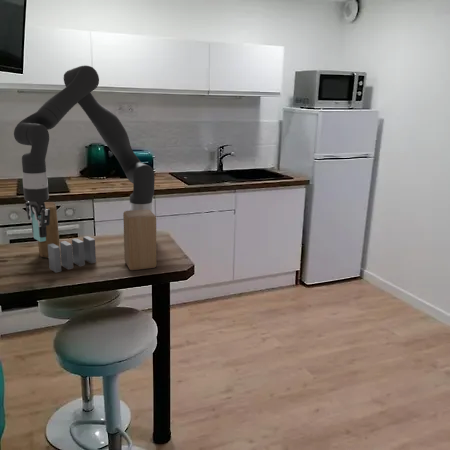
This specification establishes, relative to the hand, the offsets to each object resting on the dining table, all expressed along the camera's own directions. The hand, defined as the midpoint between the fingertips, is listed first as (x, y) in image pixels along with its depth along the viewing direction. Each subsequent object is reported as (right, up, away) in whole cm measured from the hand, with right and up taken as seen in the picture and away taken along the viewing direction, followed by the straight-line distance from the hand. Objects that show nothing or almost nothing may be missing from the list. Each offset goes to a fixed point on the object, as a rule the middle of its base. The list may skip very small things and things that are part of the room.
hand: (39, 234), depth 152 cm
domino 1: (0, -2, 0) cm, 2 cm away
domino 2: (+3, -12, +7) cm, 15 cm away
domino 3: (+6, -12, +10) cm, 17 cm away
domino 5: (+12, -10, +16) cm, 23 cm away
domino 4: (+9, -11, +13) cm, 19 cm away
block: (-5, -8, +22) cm, 24 cm away
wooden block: (+31, -12, +15) cm, 36 cm away
